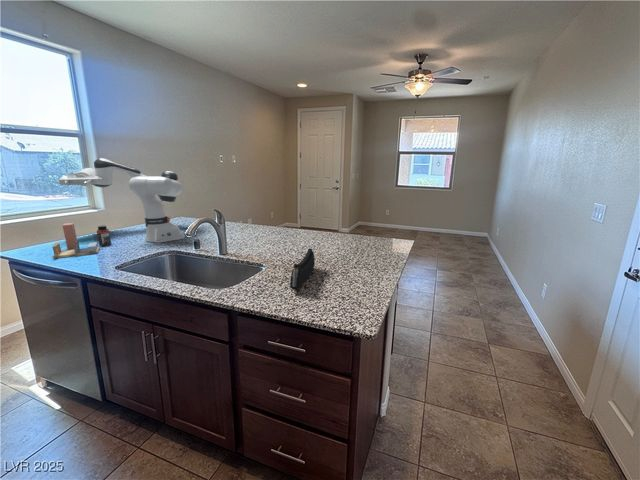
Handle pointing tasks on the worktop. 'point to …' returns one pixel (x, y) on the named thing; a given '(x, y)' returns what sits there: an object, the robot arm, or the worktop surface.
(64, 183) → the robot arm
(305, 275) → the magazine
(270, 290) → the worktop surface
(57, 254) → the shelf
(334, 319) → the worktop surface
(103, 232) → the supplement bottle
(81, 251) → the bookend
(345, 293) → the worktop surface
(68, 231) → the boxed book
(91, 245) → the flat bluegrey book
